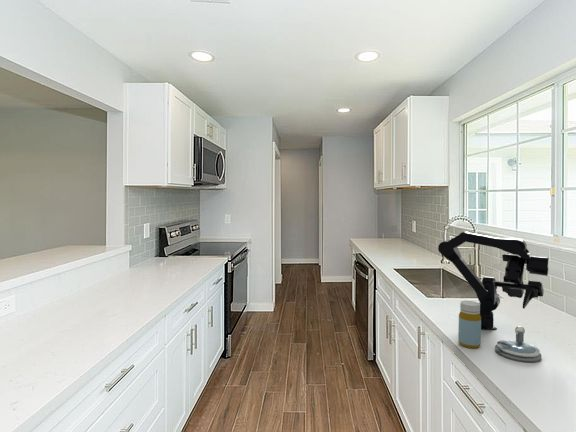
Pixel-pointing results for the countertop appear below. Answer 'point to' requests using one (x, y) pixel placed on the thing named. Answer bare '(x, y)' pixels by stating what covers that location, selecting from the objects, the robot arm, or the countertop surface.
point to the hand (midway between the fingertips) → (508, 305)
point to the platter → (518, 348)
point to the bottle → (469, 324)
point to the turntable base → (520, 337)
